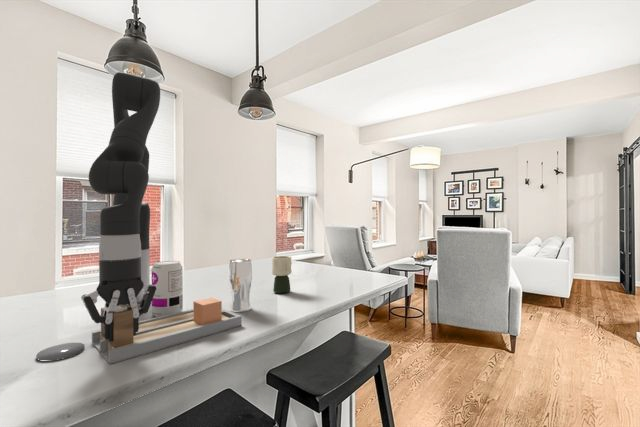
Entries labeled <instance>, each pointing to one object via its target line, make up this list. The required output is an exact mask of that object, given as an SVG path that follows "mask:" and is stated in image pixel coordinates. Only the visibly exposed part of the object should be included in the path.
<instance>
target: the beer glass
mask: <svg viewBox="0 0 640 427" xmlns="http://www.w3.org/2000/svg"><path fill="white" fill-rule="evenodd" d="M228 261H229V262H228V285H229V289H230V294H231V296H230V297H231V302H230V306H229V307H230V308H229V311H230V312H232V313H246V312H248V311H250V310H251V309H252V308H251V307H252V306H251V301H250V292H251V287H252V280H253V279H252V278H253V267H252V266H253V264H252V259H250V258H235V259H230V260H228Z"/></svg>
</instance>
